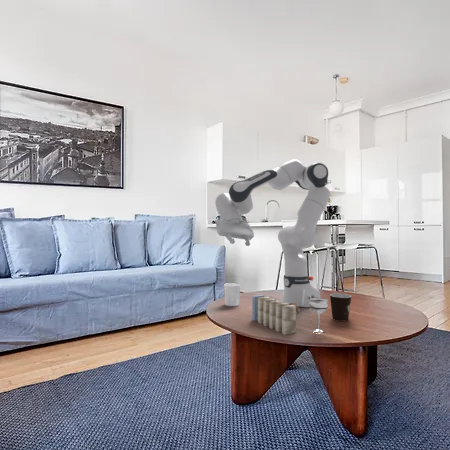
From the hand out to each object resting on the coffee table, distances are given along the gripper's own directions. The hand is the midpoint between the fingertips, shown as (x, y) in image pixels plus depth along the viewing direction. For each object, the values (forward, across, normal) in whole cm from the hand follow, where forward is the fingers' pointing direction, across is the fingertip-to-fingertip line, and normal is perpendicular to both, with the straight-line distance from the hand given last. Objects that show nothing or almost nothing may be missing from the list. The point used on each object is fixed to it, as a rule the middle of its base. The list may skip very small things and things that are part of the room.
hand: (240, 244), depth 160 cm
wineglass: (+49, +8, -12) cm, 51 cm away
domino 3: (+39, -1, +2) cm, 39 cm away
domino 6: (+47, -3, -7) cm, 48 cm away
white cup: (+16, +8, +28) cm, 33 cm away
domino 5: (+44, -2, -4) cm, 45 cm away
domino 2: (+36, 0, +5) cm, 37 cm away
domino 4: (+42, -1, -1) cm, 42 cm away
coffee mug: (+44, +30, -11) cm, 55 cm away
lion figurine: (+40, +8, -1) cm, 41 cm away
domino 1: (+34, +1, +8) cm, 35 cm away
